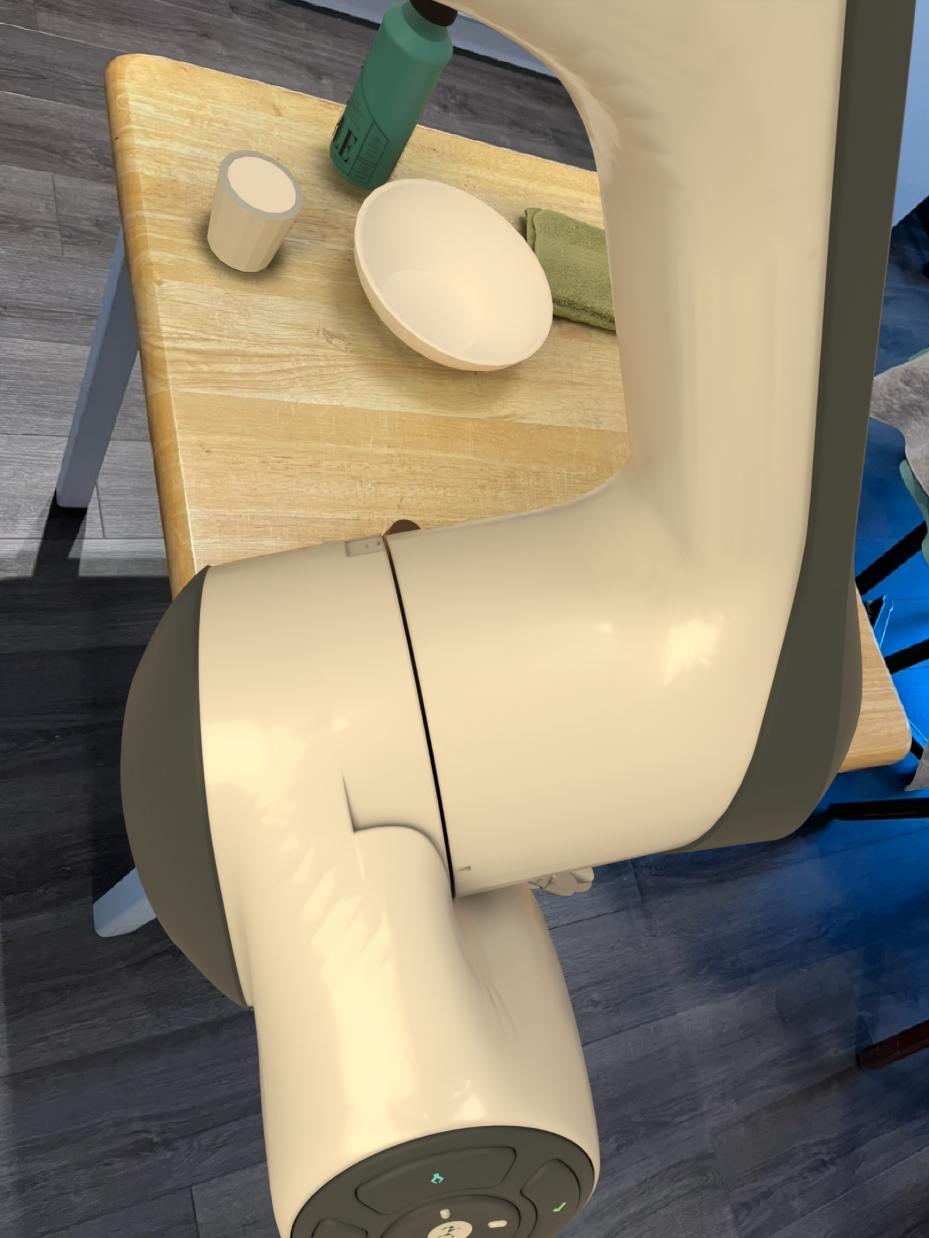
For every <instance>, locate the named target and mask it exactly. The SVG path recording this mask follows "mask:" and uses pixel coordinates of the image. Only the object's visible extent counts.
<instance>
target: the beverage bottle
mask: <svg viewBox="0 0 929 1238" xmlns="http://www.w3.org/2000/svg"><path fill="white" fill-rule="evenodd" d="M458 13H459V11H457V10H455V9H453V8H451V7H449V6H446V5H444V4H441V3H439V2H436V1H434V0H403V1H398V2H395V3H392V4H390V5H389V6H388V7H387V8H386V9H385V11H384V13H383V16H382V21H381V22H380V25H379V28H378V30H377V32H376V34H375V37H374V39H373V40H372V43H371V45H369V47H368V48H369V49H368V53H367V54H365V57H364V59H363V62H362V65H360V68H361V70H360V71H359V75H358V77H357V80H356V81H355V84H354V86H353V89H352V91H351V94H350V96H349V99H348V100H346V104H345V108H344V109H342V111H341V112H340V115H339V118H338V120H337V122H336V124H335V127H334V130H333V132H332V136H331V140H330V142H329V144H328V146H329V147H328V148H329V158H330V162H331V164H332V166H333V167H334V169H335V171H336V172H337V173H338V174H339V175H340V176H341V177H342V178H343V179H345V180H346V181H347V182H348V183H350V184H352V185H354V186H356V187H359V188H361V189H366V190H375V189H377V188H379V187H381V186H383V185H384V184H386V183H388V182H391V180H392V176H393V175H394V173H395V171H396V169H397V167H398V166H399V164H400V162H401V160H402V159H403V157H404V155H405V152H406V150H407V146H408V144H409V142H410V140H411V138H412V137H413V136H414V132H415V130H416V127H417V126H418V124H419V122H420V120H421V117H422V115H423V113H424V110H425V108H426V106H427V104H428V102H429V100H430V98H431V96H432V94H433V92H434V90H435V89H436V87H437V85H438V82H439V81H440V79H441V77H442V75H443V73H444V71H445V69H446V67H447V65H448V64H449V62H450V61H451V59H452V57H453V53H454V45H453V40H452V38H451V34H450V31H449V29H448V27H450V26H452V25H453V24H454V23H455V21H456V19H457V17H458Z"/></svg>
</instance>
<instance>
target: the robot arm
mask: <svg viewBox="0 0 929 1238" xmlns="http://www.w3.org/2000/svg"><path fill="white" fill-rule="evenodd" d="M434 1H436V2H439V3H441V4H444V5H446V6H449V7H451V8H453V9H455V10H457V11H458V13H461V14H463V15H465V16H467V17H469V18H471V19H473V20H475V21H478V22H480V23H481V24H483V25H485V26H487V27H489V28H491V29H493V30H494V31H496V32H498V33H499V34H501V35H502V36H504V37H506V38H507V39H509V40H510V41H512V42H513V43H515V44H516V45H518V46H520V47H522V48H523V49H524V50H526V51H527V52H528V53H529V54H531V55H532V56H533V57H534V58H536V59H537V60H538V61H539V62H541V63H542V64H543V65H544V66H546V68H548V70H550V71H551V72H552V73H553V74H554V76H555V77H557V79H558V80H559V81H560V83H561V84H562V86H563V87H564V89H565V90H566V92H567V93H568V94H569V96H570V98H571V101H572V102H573V104H574V106H575V108H576V111H577V113H578V114H579V116H580V119H581V120H582V123H583V126H584V129H585V131H586V134H587V136H588V140H589V143H590V146H591V149H592V153H593V158H594V162H595V166H596V173H597V179H598V186H599V194H600V195H599V196H600V202H601V203H600V204H601V211H602V212H601V213H602V220H603V229H604V230H605V239H606V247H607V256H608V264H609V273H610V282H611V290H612V299H613V307H614V316H615V324H616V331H615V333H616V340H617V341H616V342H617V349H618V358H619V367H620V375H621V383H622V393H623V402H624V411H625V419H626V427H627V435H628V446H629V454H628V457H627V458H626V461H625V462H624V463H623V464H622V466H621V467H620V468H619V469H618V470H617V471H616V472H615V473H614V474H613V475H612V476H610V477H609V478H607V479H606V480H604V482H601V483H600V484H599V485H597V486H595V487H594V488H592V489H591V490H589V491H586V492H585V493H582V494H581V495H578V496H576V497H572V498H571V499H568V500H565V501H563V502H560V503H555V504H551V505H548V506H541V507H537V508H531V509H525V510H520V511H515V512H508V513H503V514H498V515H497V514H496V515H491V516H486V517H481V518H475V519H469V520H464V521H463V520H462V521H458V522H452V523H448V524H447V523H446V524H441V525H437V526H430V527H424V528H421V529H419V530H413V531H408V532H402V533H397V534H391V535H385V536H384V542H383V539H382V535H383V534H382V533H375V534H370V535H369V534H368V535H364V536H363V535H362V536H358V537H353V538H348V539H341V540H336V541H335V540H334V541H330V542H324V543H318V544H313V545H307V546H302V547H296V548H292V549H287V550H282V551H277V552H270V553H267V554H262V555H257V556H256V555H255V556H251V557H247V558H241V559H237V560H232V561H228V562H224V563H220V564H215V565H210V564H207V565H205V566H204V567H203V568H202V569H200V570H199V571H198V572H197V573H196V574H195V575H193V577H191V579H190V580H189V581H188V582H187V583H186V584H185V585H184V586H183V587H182V589H181V590H180V591H179V592H178V594H177V595H176V597H175V598H174V599H173V600H172V601H171V603H170V605H169V606H168V608H167V609H166V610H165V612H164V614H163V615H162V616H161V619H160V621H159V622H158V624H157V626H156V628H155V630H154V632H153V634H152V636H151V638H150V640H149V642H148V644H147V646H146V648H145V650H144V652H143V654H142V657H141V659H140V661H139V663H138V666H137V668H136V670H135V672H134V675H133V676H132V677H133V678H132V680H131V683H130V687H129V691H128V695H127V699H126V705H125V711H124V718H123V726H122V732H121V746H120V794H121V796H120V797H121V804H122V812H123V818H124V824H125V829H126V834H127V838H128V842H129V847H130V850H131V855H132V859H133V862H134V866H135V869H136V872H137V876H138V879H139V881H140V884H141V886H142V889H143V891H144V894H145V897H146V898H147V899H146V900H147V901H148V902H149V905H150V907H151V909H152V911H153V913H154V915H155V917H156V919H157V920H158V922H159V923H160V925H161V927H162V929H163V930H164V932H165V933H166V934H167V936H168V938H169V940H171V942H172V943H173V944H174V945H175V946H176V947H177V948H178V949H179V950H180V951H181V952H182V953H183V955H185V956H186V958H187V959H188V960H189V961H190V962H191V963H192V964H193V965H194V966H195V968H196V969H198V971H199V972H200V973H201V974H202V975H203V976H204V977H205V978H206V979H207V980H208V981H209V982H210V983H211V984H212V985H213V986H214V987H215V988H216V989H217V990H218V991H219V992H221V993H222V994H223V995H224V996H225V997H227V998H228V999H230V1000H231V1001H232V1002H233V1003H235V1004H236V1005H238V1006H240V1007H241V1008H243V1009H245V1010H246V1009H248V1008H249V1007H253V1013H254V1021H255V1030H256V1038H257V1049H258V1065H259V1066H258V1067H259V1085H260V1088H259V1089H260V1100H261V1101H260V1102H261V1115H262V1125H263V1136H264V1145H265V1155H266V1163H267V1172H268V1181H269V1182H268V1183H269V1189H270V1191H269V1192H270V1197H271V1201H272V1202H271V1204H272V1211H273V1214H274V1219H275V1222H276V1226H277V1229H278V1233H279V1236H280V1238H555V1237H556V1236H557V1235H559V1234H560V1233H561V1232H562V1231H564V1229H565V1228H566V1227H567V1226H568V1225H570V1224H571V1223H572V1222H573V1221H574V1219H576V1217H577V1216H578V1215H579V1214H580V1213H581V1212H582V1210H583V1209H584V1208H585V1206H586V1205H587V1204H588V1202H589V1201H590V1199H591V1197H592V1195H593V1193H594V1191H595V1189H596V1188H597V1187H596V1186H597V1184H598V1181H599V1177H600V1171H601V1156H600V1153H601V1152H600V1141H599V1139H600V1138H599V1132H598V1125H597V1117H596V1112H595V1107H594V1100H593V1095H592V1089H591V1085H590V1080H589V1075H588V1070H587V1064H586V1060H585V1056H584V1055H585V1054H584V1050H583V1046H582V1041H581V1036H580V1031H579V1028H578V1024H577V1020H576V1018H575V1012H574V1008H573V1005H572V1000H571V997H570V993H569V990H568V987H567V986H568V985H567V984H566V979H565V976H564V972H563V969H562V966H561V963H560V959H559V956H558V953H557V951H556V948H555V945H554V942H553V940H552V939H553V938H552V936H551V933H550V930H549V927H548V925H547V921H546V919H545V916H544V914H543V912H542V909H541V906H540V904H539V902H538V900H537V899H536V896H535V895H534V893H533V891H532V890H540V889H541V890H542V891H544V892H546V893H548V894H551V895H553V896H557V897H564V898H569V897H572V896H573V895H574V894H575V893H585V892H589V890H590V889H591V888H592V886H593V881H594V879H595V873H594V870H593V868H595V867H600V866H605V865H608V864H614V863H618V862H622V861H626V860H631V859H636V858H639V857H644V856H645V857H646V856H649V855H653V854H657V855H664V856H666V855H675V854H683V853H690V852H698V851H705V850H713V849H719V848H727V847H733V846H734V847H735V846H742V845H748V844H749V845H750V844H756V843H762V842H764V843H765V842H771V841H777V840H780V839H783V838H785V837H787V836H789V835H791V834H793V833H794V832H795V831H796V830H798V829H799V828H800V827H801V826H802V825H803V824H805V822H806V821H807V819H808V818H809V817H810V816H811V815H812V813H813V812H814V810H815V809H816V807H817V806H818V805H819V803H820V802H821V801H822V799H823V798H824V796H825V795H826V792H828V790H829V788H830V786H831V784H832V783H833V782H834V779H835V778H836V776H837V775H838V773H839V771H840V770H841V767H842V764H843V763H844V761H845V759H846V758H847V755H848V753H849V751H850V748H851V745H852V741H853V739H854V736H855V734H856V731H857V729H858V723H859V719H860V714H861V709H862V702H863V700H862V699H863V676H864V675H863V673H864V672H863V653H862V642H861V628H860V627H861V626H860V620H859V608H858V599H857V597H858V596H857V588H856V587H857V586H856V575H855V574H856V573H855V571H856V570H855V554H856V553H855V550H856V535H857V528H858V527H857V526H858V518H859V510H860V509H859V508H860V501H861V492H862V485H863V476H864V466H865V457H866V449H867V441H868V433H869V425H870V417H871V416H870V414H871V409H872V406H871V405H872V400H873V391H874V382H875V374H876V366H877V357H878V349H879V340H880V339H879V338H880V331H881V324H882V323H881V322H882V315H883V305H884V296H885V290H886V279H887V272H888V263H889V255H890V246H891V237H892V230H893V221H894V212H895V204H896V203H895V202H896V195H897V184H898V176H899V169H900V168H899V167H900V161H901V160H900V159H901V152H902V143H903V134H904V125H905V117H906V116H905V115H906V105H907V95H908V86H909V77H910V68H911V59H912V51H913V50H912V49H913V40H914V30H915V29H914V28H915V20H916V19H915V17H916V7H917V0H434Z"/></svg>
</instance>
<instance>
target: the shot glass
mask: <svg viewBox="0 0 929 1238" xmlns="http://www.w3.org/2000/svg"><path fill="white" fill-rule="evenodd" d="M304 196H305V195H304V192H303V189H302V187H301V184H300V182H299V180H298V179H297V178H296V176H295V175H294V173H292V172H291V170H290V169H289V168H288V167H287V166H286V165H284V164H283V163H282V162H280V161H278V160H277V159H276V158H274V157H273V156H270V155H267V154H265V153H263V152H260V151H258V150H249V149H239V150H236V151H232V152H229V153H227V154H226V155H225V157H224V158H223V159H222V160H221V161H220V163H219V168H218V174H217V180H216V185H215V190H214V195H213V201H212V207H211V213H210V217H209V222H208V228H207V236H206V240H207V243H208V245H209V247H210V250H211V251H212V253H213V254H214V256H216V257H217V259H218V260H219V261H221V262H222V263H223V264H225V265H227V266H228V267H230V268H231V269H234V270H238V271H240V272H242V273H243V272H244V273H258V272H260V271H262V270H265V269H266V268H267V267H268V266H269V265H270V263H271V262H272V260H273V259H274V257H275V256H276V254H277V252H278V250H279V249H280V247H281V245H282V244H283V242H284V240H285V238H286V236H287V235H288V233H289V232H290V230H291V228H292V227H293V224H294V222H295V221H296V219H297V217H298V216H299V214H300V212H301V210H302V209H303V206H304Z"/></svg>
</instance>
